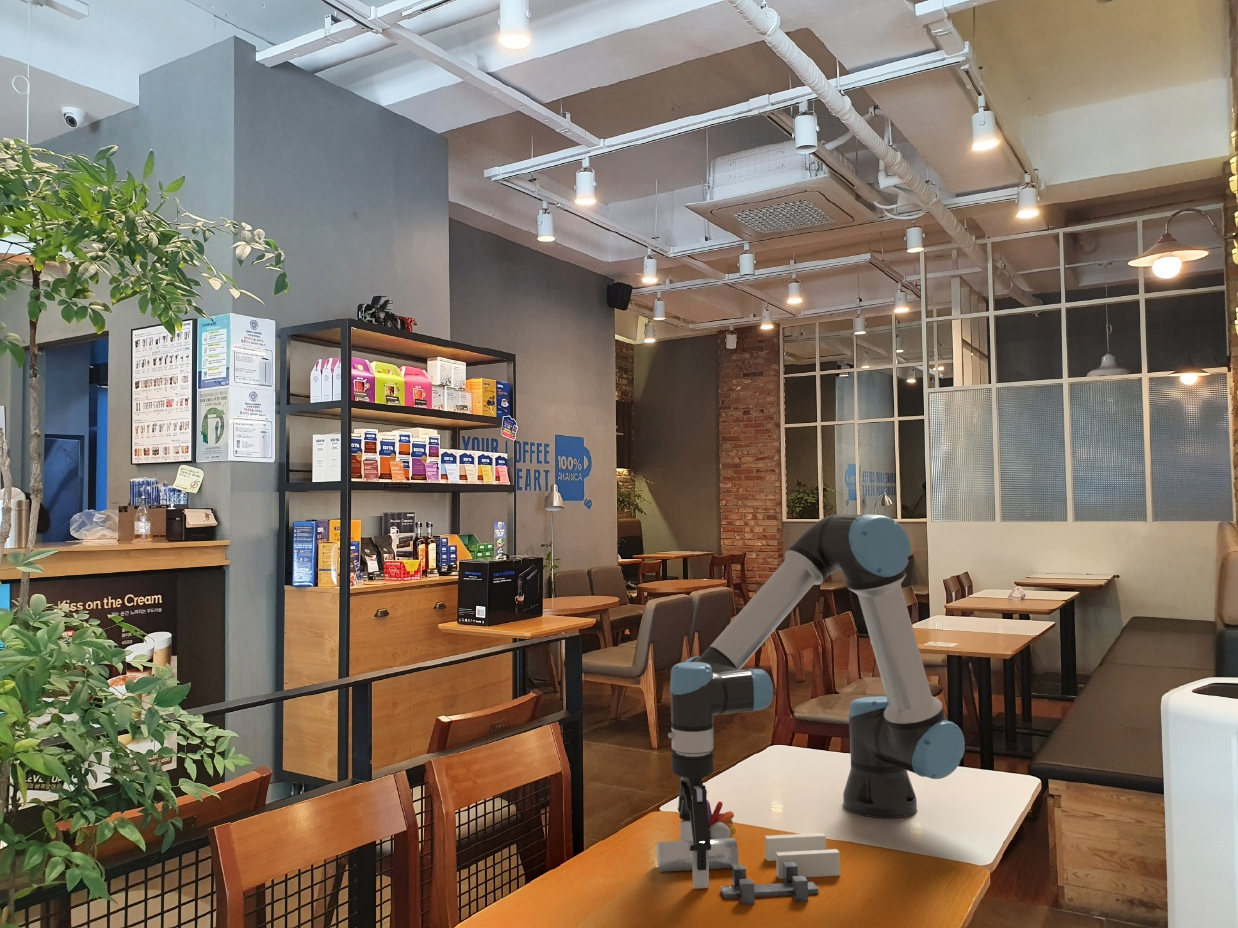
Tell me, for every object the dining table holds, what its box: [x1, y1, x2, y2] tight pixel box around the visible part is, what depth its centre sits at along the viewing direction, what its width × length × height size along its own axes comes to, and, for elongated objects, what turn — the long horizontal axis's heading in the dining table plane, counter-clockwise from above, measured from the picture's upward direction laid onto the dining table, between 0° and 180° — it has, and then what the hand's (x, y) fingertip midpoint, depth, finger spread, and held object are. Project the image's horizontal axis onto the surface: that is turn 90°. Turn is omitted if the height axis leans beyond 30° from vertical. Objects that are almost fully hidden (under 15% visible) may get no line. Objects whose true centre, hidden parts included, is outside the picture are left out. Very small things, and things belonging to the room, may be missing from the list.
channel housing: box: [764, 832, 841, 880], centre depth 165 cm, size 11×10×4 cm
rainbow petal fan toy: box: [707, 799, 736, 839], centre depth 180 cm, size 8×10×7 cm
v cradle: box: [720, 862, 819, 906], centre depth 154 cm, size 16×8×3 cm, turn 95°
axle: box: [656, 837, 739, 873], centre depth 165 cm, size 14×5×5 cm
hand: (694, 871), depth 163 cm, fingers open, 13 cm apart
